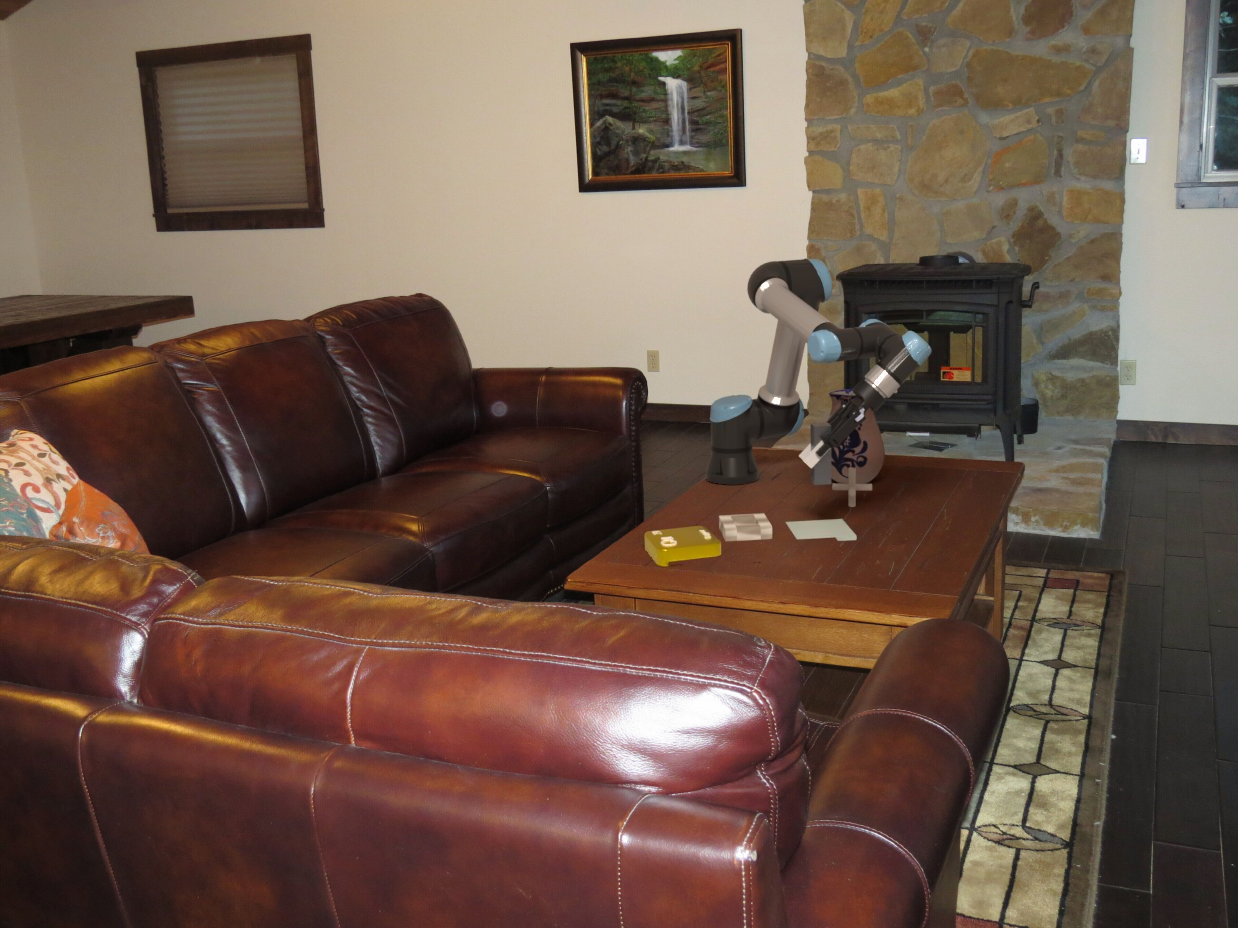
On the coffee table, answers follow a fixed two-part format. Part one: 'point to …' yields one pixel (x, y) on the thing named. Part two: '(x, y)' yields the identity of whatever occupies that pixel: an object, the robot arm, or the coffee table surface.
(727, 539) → the socket block
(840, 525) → the plate
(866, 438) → the ceramic pitcher
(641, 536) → the coffee table surface
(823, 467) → the peg
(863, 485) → the pipe connector
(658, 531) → the element tile
